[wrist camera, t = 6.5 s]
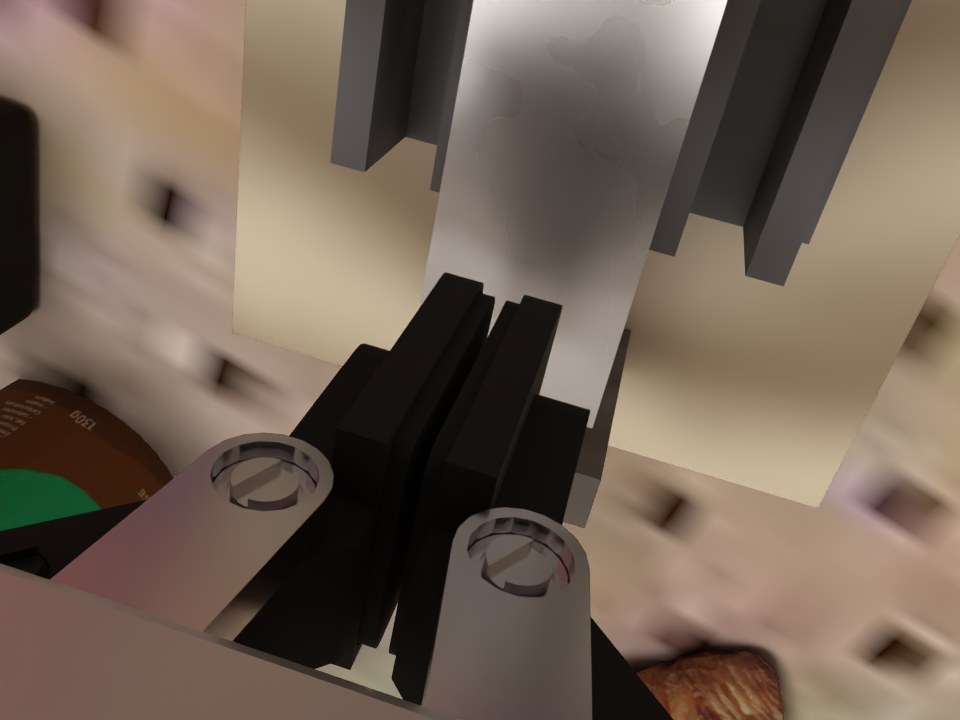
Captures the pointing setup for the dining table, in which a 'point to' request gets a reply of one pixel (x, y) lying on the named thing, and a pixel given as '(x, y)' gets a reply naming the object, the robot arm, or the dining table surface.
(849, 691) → the dining table surface
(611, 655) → the robot arm
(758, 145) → the heatsink board
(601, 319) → the clamp bar
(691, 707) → the pastry
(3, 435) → the food container
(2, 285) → the battery
